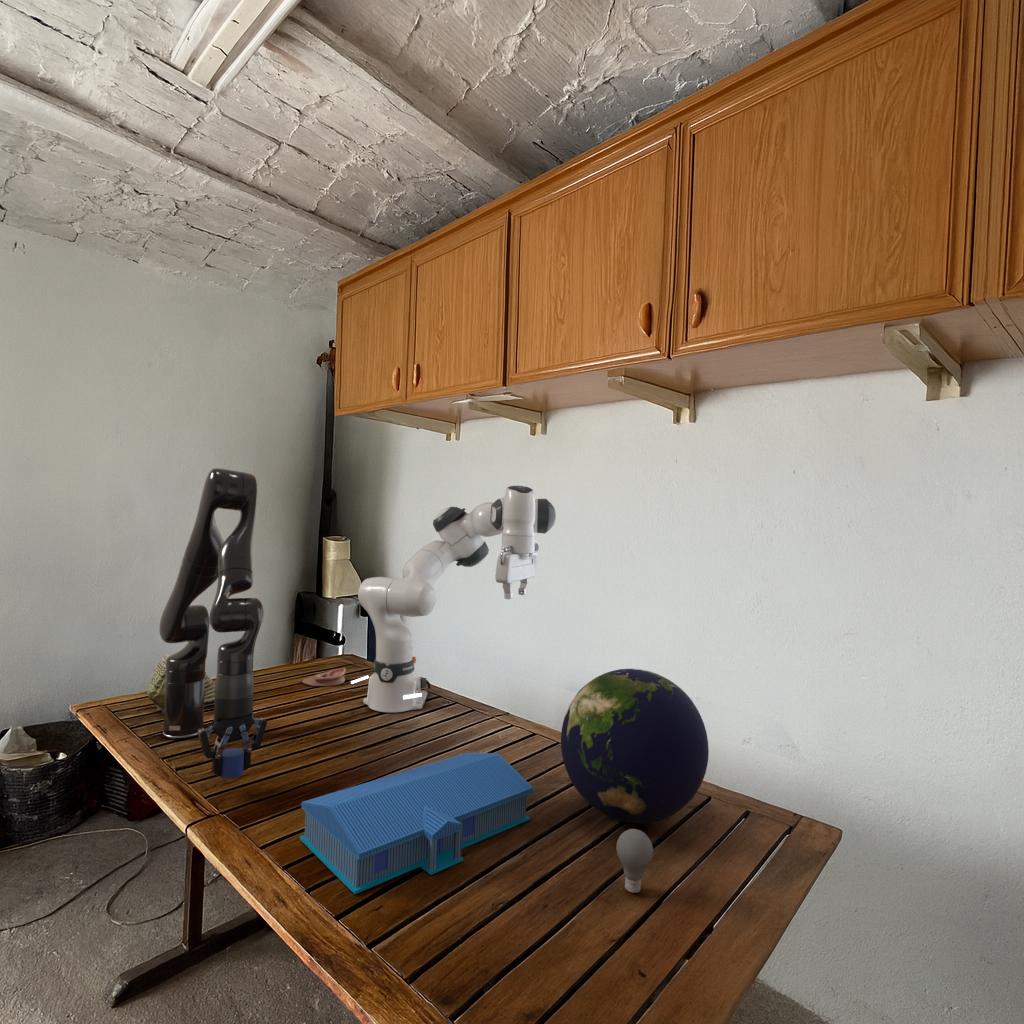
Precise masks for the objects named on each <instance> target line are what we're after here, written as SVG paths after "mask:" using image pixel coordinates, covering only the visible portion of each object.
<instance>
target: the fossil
mask: <svg viewBox="0 0 1024 1024" xmlns="http://www.w3.org/2000/svg"><path fill="white" fill-rule="evenodd" d="M171 655H172V654H165V655H164V656H163V657H162V658H161V659H160V660H159V662H158V663H157V666H156V667H155V669H154V670H153V672H152V675H151V677H150V680H149V684H148V688H147V697H148V699H149V700H150V701H152V703H153V704H154V706H155V711H158V712H159V711H161V712H162V709H163V708H164V705H165V674H166V660H167V658H168V657H169V656H171ZM214 689H215V682H214V681H213V679H212V678H211V677H209V675H208V674H207V672H206V671H205V693H204V707H207V706H213V705H214V704H215V693H214Z"/></svg>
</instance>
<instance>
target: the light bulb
mask: <svg viewBox="0 0 1024 1024" xmlns="http://www.w3.org/2000/svg"><path fill="white" fill-rule="evenodd" d="M615 849H616V854H617V857H618V859H619V861H620V863H621V865H622V867H623V873H624V874H623V875H624V876H625V878H624V888H625V890H627V891H628V892H630V893H634V894H635V893H639V892H640V891H641V889H642V887H641V886H642V879H643V877H644V875H645V871H646V868H647V867H648V866H649V864H650V863H651V861H652V859H653V855H654V847H653V843H652V841H651V838H649V836H648V835H647V834H646V833H645V832H643V831H642V830H641V829H636V828H629V829H627V830H625V831H623V832H622V833H621V834H620V835H619V837H618V839H617V841H616V847H615Z"/></svg>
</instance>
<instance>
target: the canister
mask: <svg viewBox="0 0 1024 1024" xmlns="http://www.w3.org/2000/svg"><path fill="white" fill-rule="evenodd" d="M221 758H222V771H221V776H219V778H221V779H227V780H228V779H235V778H238V777H240V776H242V775H243V774H244V771H245V770H244V750H243V748H240V747H232V748H227V749H226V748H225V749H224V750H223V753H222V756H221Z"/></svg>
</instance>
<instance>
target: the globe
mask: <svg viewBox="0 0 1024 1024" xmlns="http://www.w3.org/2000/svg"><path fill="white" fill-rule="evenodd" d="M562 722H563V723H562V727H561V733H560V748H561V756H562V762H563V765H564V768H565V770H566V773H567V775H568V778H569V780H570V782H571V783H572V785H573V786H574V788H575V790H576V791H577V792H578V794H579V795H580V796H581V797H582V798H583V799H584V800H585V801H586V802H587V804H589V805H590V806H591V807H593V808H594V809H595V810H596V811H598V812H600V813H601V814H603V815H605V816H607V817H609V818H611V819H613V820H617V821H619V822H624V823H630V824H648V823H649V824H650V823H654V822H659V821H662V820H665V819H667V818H670V817H671V816H673V815H675V814H677V813H678V812H680V811H681V810H682V809H683V808H685V807H686V806H687V805H688V804H689V803H690V802H691V800H692V799H693V798H694V797H695V795H696V794H697V792H698V791H699V789H700V787H701V786H702V784H703V781H704V779H705V777H706V776H705V775H706V773H707V768H708V764H709V756H710V755H709V752H710V751H709V739H708V732H707V728H706V726H705V723H704V720H703V717H702V714H700V712H699V709H698V708H697V706H696V704H695V703H694V701H693V700H692V698H691V697H689V695H688V694H687V693H686V692H685V691H684V690H683V689H682V688H681V687H680V686H678V685H677V684H676V683H675V682H673V681H671V680H670V679H669V678H666V677H665V676H663V675H661V674H658V673H657V672H653V671H650V670H645V669H641V668H619V669H615V670H611V671H607V672H604V673H602V674H601V675H598V676H596V677H594V678H593V679H591V680H590V681H588V682H587V683H586V684H585V685H583V686H582V687H581V689H579V691H578V692H577V693H576V694H575V695H574V697H573V699H572V700H571V702H570V703H569V705H568V707H567V709H566V711H565V715H564V718H563V721H562Z"/></svg>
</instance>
